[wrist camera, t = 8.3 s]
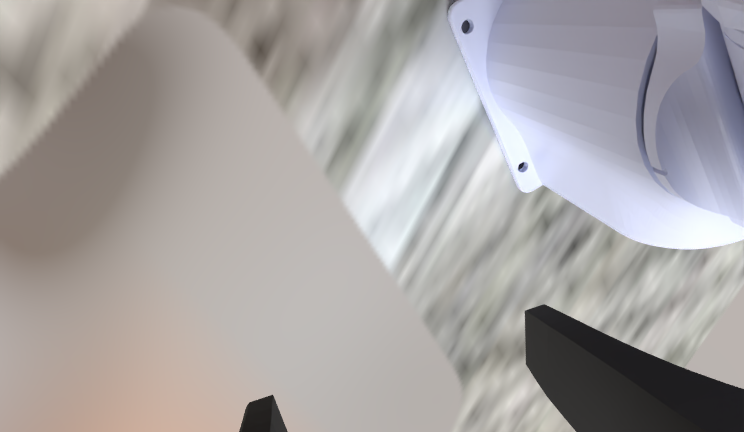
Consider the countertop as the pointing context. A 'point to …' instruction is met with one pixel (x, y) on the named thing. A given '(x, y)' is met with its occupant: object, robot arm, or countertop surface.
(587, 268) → the countertop surface
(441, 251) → the countertop surface
